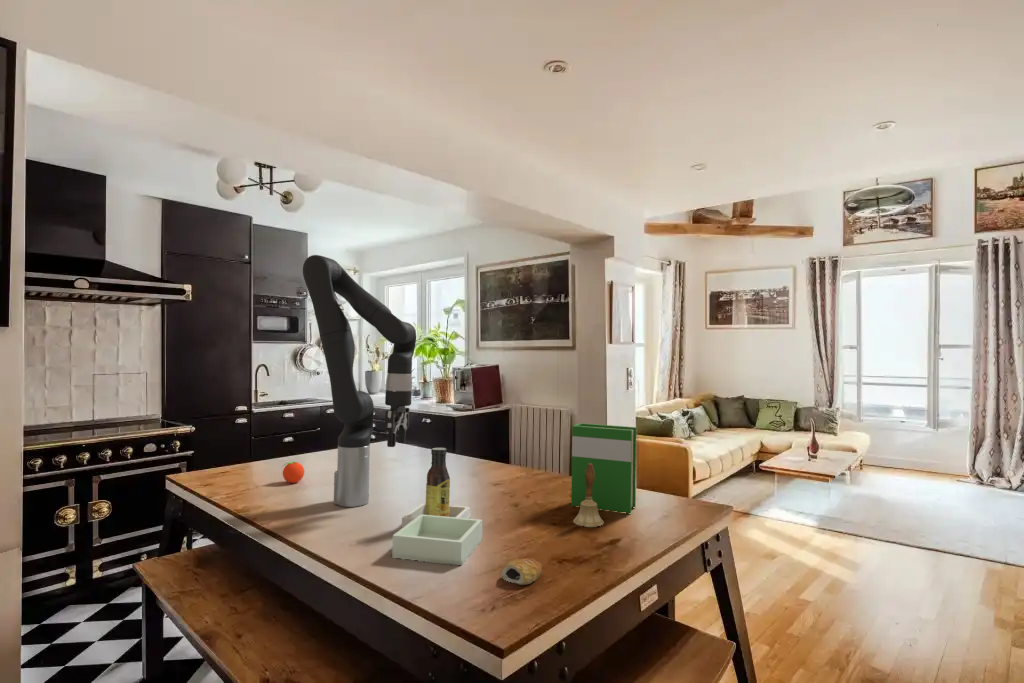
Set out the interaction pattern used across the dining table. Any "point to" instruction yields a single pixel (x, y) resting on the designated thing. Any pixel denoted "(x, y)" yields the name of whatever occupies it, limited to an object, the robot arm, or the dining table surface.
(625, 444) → the hardback book
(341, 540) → the dining table surface
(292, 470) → the clementine
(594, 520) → the hand bell
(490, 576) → the dining table surface
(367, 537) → the dining table surface
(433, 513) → the sauce bottle
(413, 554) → the sage bin
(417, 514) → the off-white frame
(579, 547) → the dining table surface
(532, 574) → the pastry
